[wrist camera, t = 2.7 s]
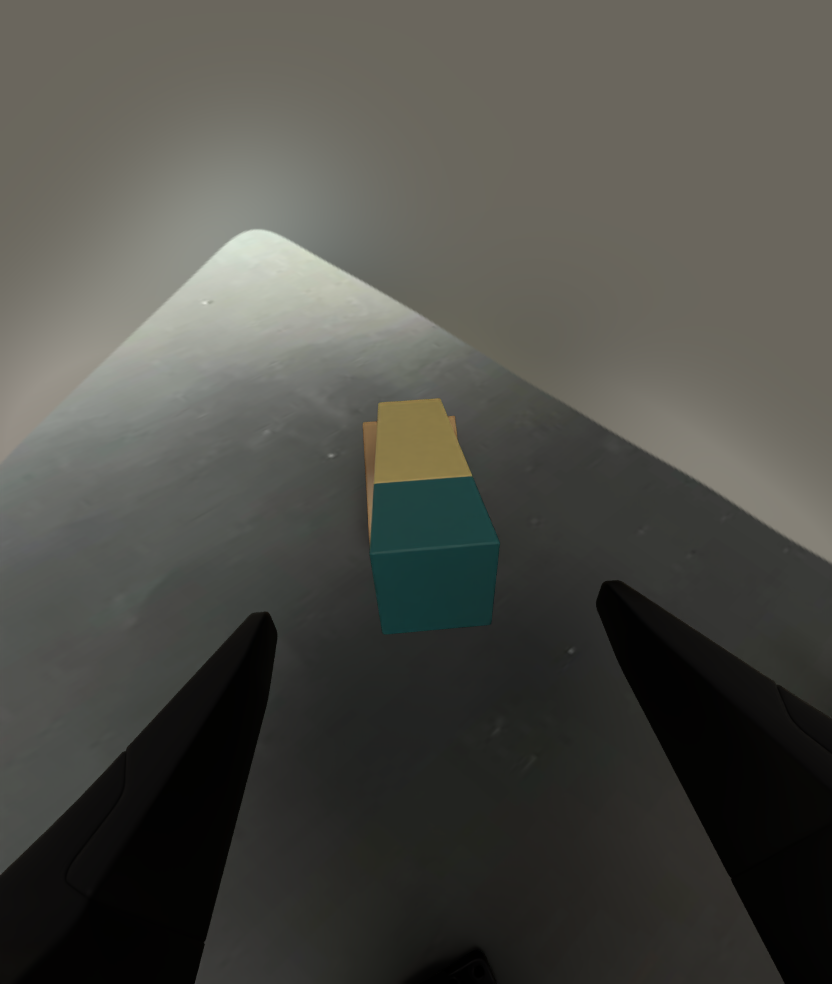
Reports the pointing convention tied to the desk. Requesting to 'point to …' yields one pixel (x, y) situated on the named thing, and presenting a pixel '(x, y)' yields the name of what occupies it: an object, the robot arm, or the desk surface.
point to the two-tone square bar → (428, 525)
